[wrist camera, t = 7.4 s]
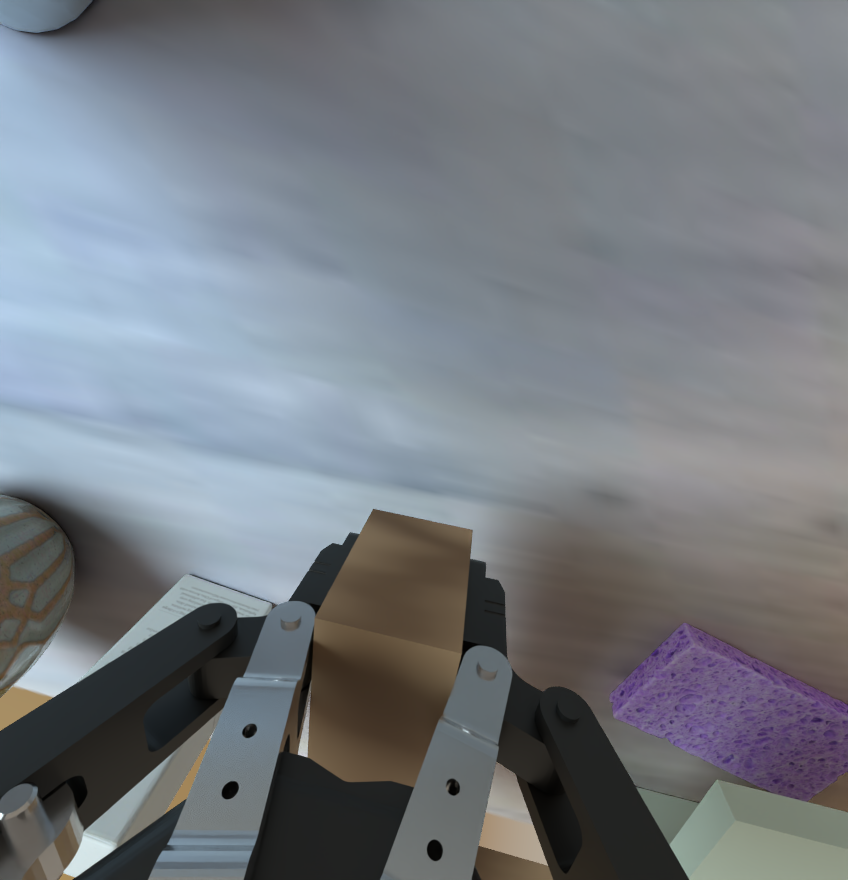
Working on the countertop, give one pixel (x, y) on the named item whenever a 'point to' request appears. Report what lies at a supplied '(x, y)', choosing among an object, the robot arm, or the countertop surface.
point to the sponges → (737, 714)
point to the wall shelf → (752, 835)
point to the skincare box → (168, 776)
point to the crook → (394, 659)
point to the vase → (30, 586)
